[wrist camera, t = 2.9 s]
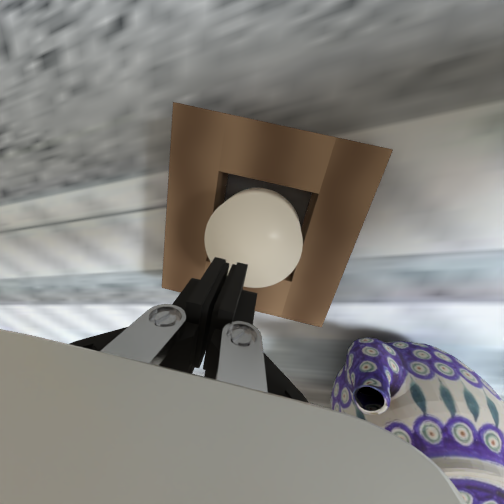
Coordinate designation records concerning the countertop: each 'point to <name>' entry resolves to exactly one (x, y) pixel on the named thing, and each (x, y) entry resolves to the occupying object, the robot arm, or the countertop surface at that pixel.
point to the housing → (278, 172)
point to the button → (256, 235)
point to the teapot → (429, 410)
